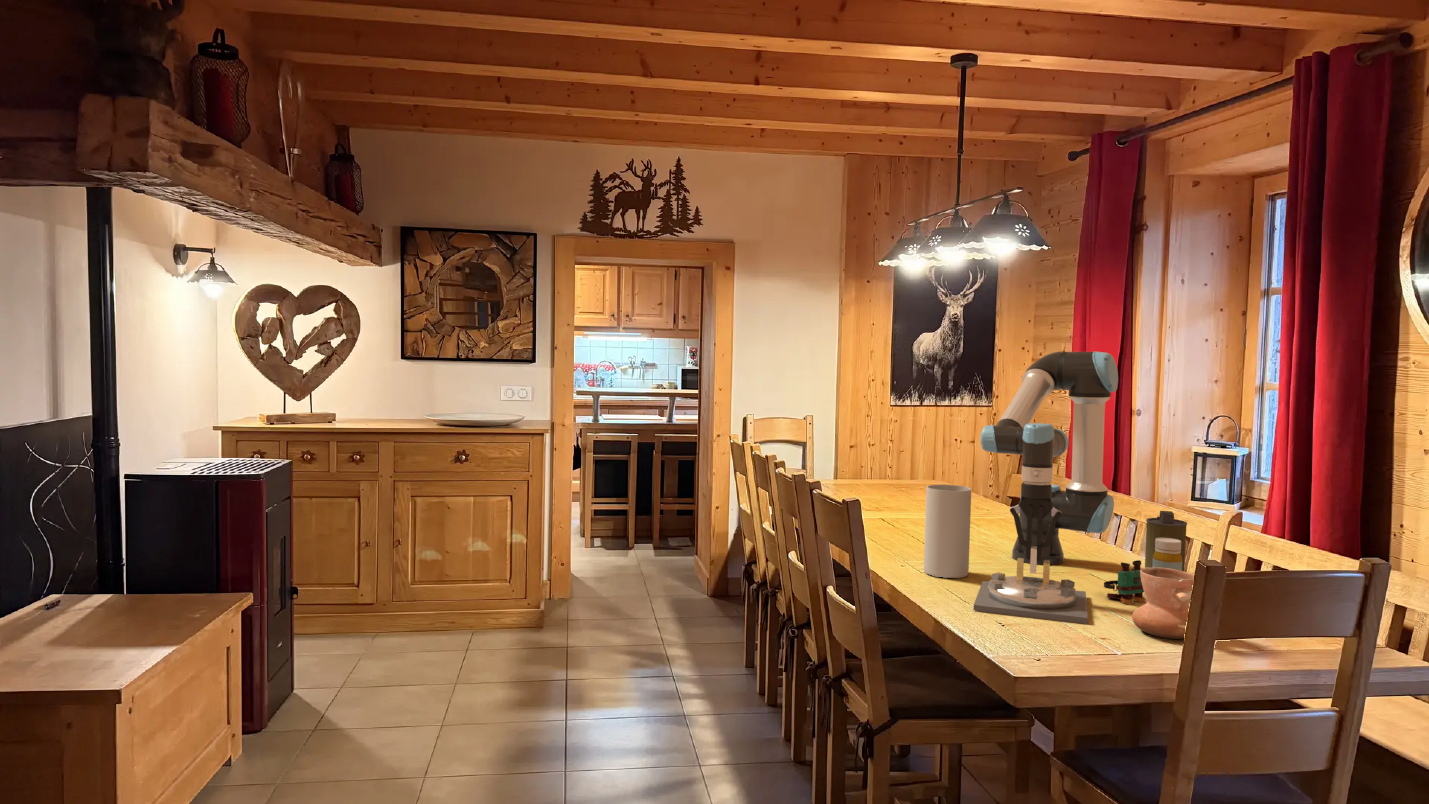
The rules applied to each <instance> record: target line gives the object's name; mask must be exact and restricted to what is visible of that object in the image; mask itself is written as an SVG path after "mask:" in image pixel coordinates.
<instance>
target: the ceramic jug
mask: <svg viewBox="0 0 1429 804" xmlns="http://www.w3.org/2000/svg"><path fill="white" fill-rule="evenodd" d="M1194 575H1195V574H1194V573H1190V572H1188V571H1185V570H1184V571H1180V570H1175V569H1169V568H1161V567H1152V568H1148V567H1146V568H1145V567H1143V568H1141V570H1140V576H1141V582H1142V586H1143V589H1144V592H1143V593H1144V595H1145V596H1144V597H1145V601H1146V603H1145V604H1142V605H1141V606H1139V607H1137V608H1136V609H1135V610H1133V613H1132V615H1131V618H1132V622H1133V624H1134V625H1135V626H1136V627H1137V628H1138V629H1139V630H1140V631H1143V632H1145V633H1146V634H1149V635H1152V636H1154V637H1158V638H1163V639H1164V638H1165V639H1171V640H1173V639H1174V640H1182V639H1183V638H1184V634H1185V626H1186V622H1187V618H1188V609H1190V608H1189V606H1190V604H1191V602H1190V600H1191V591H1192V585H1193V580H1194ZM1191 601H1192V600H1191ZM1184 639H1185V638H1184Z"/></svg>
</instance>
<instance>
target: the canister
mask: <svg viewBox="0 0 1429 804" xmlns="http://www.w3.org/2000/svg"><path fill="white" fill-rule="evenodd" d="M1145 521H1146V530H1145V532H1146V533H1145V535H1146V536H1145V554H1144V555H1145V556H1144V557H1145V559H1144V568H1146V567H1148V568H1152V563H1153V554H1154V552H1155V539H1156V538H1172V539H1177V540H1180V541H1181V556H1182V571H1184V572H1185V562H1186V561H1185V560H1186V540H1187V525H1188V522H1187V521H1184V520H1180V519H1176V518H1175V513H1174V512H1173V511H1170V510H1168V511H1167V510H1159V516H1157V517H1149V518H1148V517H1147V518H1146V520H1145Z"/></svg>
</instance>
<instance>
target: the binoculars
mask: <svg viewBox="0 0 1429 804" xmlns="http://www.w3.org/2000/svg"><path fill="white" fill-rule="evenodd" d="M1132 565H1133V568H1131V569H1130V567H1131V563H1126V562H1123V561H1122V562H1120V566H1121V570H1118V572H1117V580H1107V581H1104V582H1103V588H1105V589H1108V590H1113V592H1117V593H1110V592H1109V593H1107V594H1106V595H1107V596H1106V597H1107V598H1108V599H1118V600H1120V602H1121V603H1123V604H1126V605H1133V603H1134V602H1133V601H1135V602H1139V603H1145V601H1146V599H1145V596H1144V594H1143V593H1145V592H1144V589H1143V586H1142V582H1141V576H1140V570H1141V569H1142V568H1141V565H1142V560H1140V559H1139V560H1138V559H1137V560H1133V561H1132Z"/></svg>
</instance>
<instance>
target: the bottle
mask: <svg viewBox="0 0 1429 804" xmlns="http://www.w3.org/2000/svg"><path fill="white" fill-rule="evenodd" d="M1152 567H1161V568H1169V569H1175V570H1180V571H1182V556H1181V541H1180V540H1177V539H1172V538H1156V539H1155V552H1154V554H1153V563H1152Z"/></svg>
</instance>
